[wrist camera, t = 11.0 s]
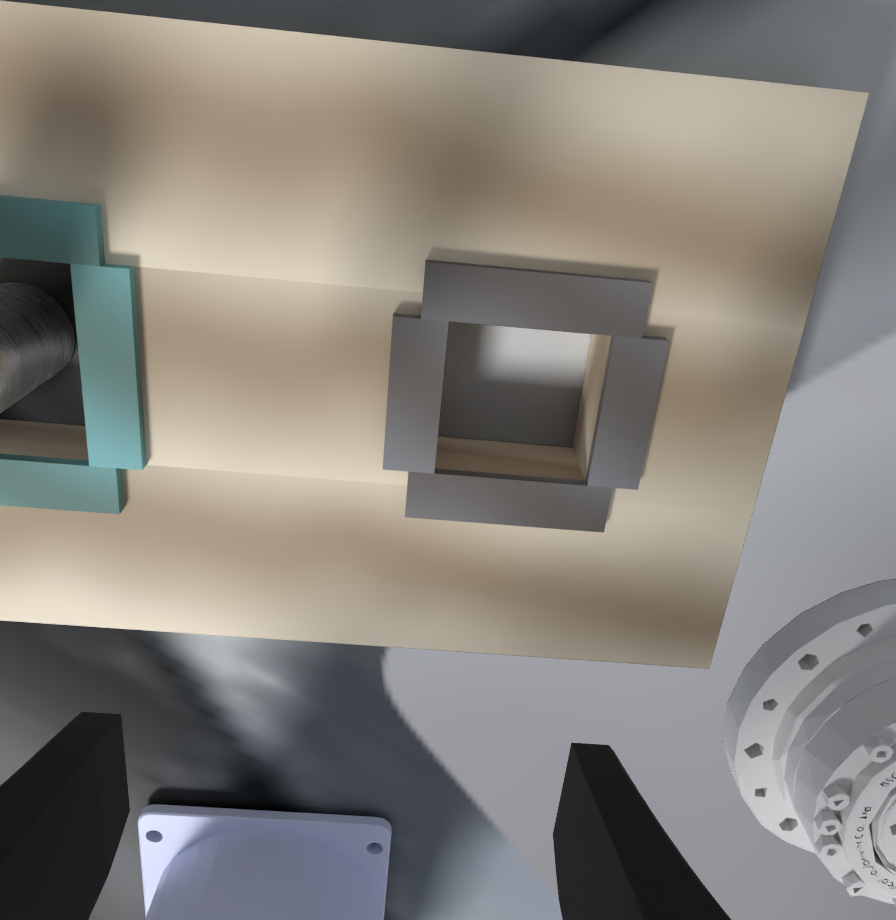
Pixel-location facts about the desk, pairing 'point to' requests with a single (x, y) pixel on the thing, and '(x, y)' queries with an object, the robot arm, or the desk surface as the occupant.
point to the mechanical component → (825, 736)
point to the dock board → (398, 332)
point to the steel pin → (31, 340)
